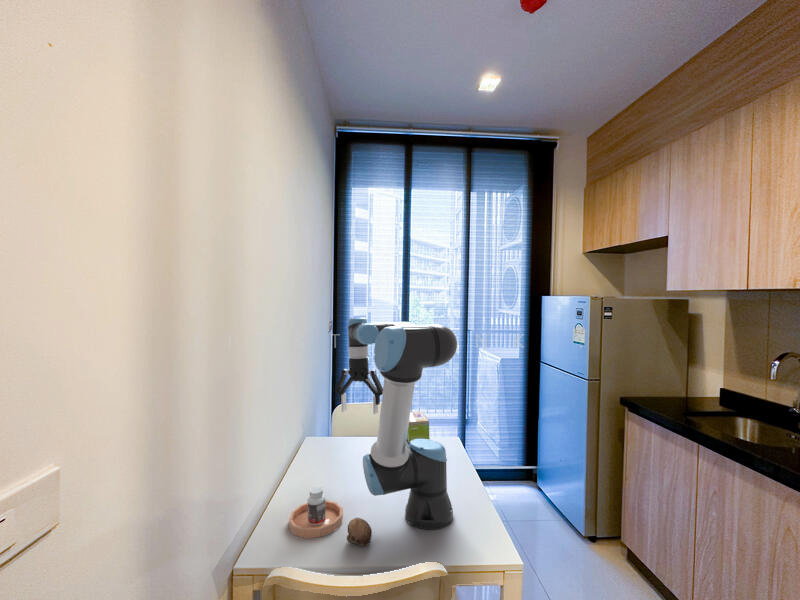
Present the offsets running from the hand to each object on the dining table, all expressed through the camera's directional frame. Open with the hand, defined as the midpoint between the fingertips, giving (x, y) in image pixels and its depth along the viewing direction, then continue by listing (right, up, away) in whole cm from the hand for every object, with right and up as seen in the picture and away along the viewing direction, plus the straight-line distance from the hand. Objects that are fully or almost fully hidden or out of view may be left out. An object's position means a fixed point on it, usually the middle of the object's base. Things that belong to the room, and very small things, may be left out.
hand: (359, 412), depth 143 cm
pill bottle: (-10, -25, -29) cm, 40 cm away
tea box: (+24, -27, +31) cm, 47 cm away
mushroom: (+4, -26, -38) cm, 46 cm away
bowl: (-10, -26, -28) cm, 40 cm away
